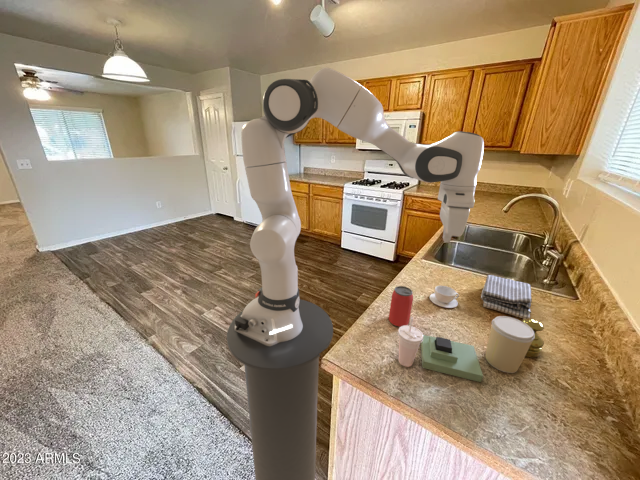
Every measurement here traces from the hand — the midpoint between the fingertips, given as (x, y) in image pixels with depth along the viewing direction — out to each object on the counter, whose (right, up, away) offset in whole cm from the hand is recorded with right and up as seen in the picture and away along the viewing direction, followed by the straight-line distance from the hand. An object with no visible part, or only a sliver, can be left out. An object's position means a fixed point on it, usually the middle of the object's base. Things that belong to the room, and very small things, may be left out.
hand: (446, 240), depth 79 cm
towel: (+33, -24, +22) cm, 46 cm away
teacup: (+9, -23, +22) cm, 33 cm away
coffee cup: (+13, -34, -5) cm, 36 cm away
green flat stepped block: (-2, -33, -5) cm, 33 cm away
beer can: (-11, -27, +10) cm, 31 cm away
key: (-4, -29, -6) cm, 30 cm away
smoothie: (-14, -33, -6) cm, 37 cm away
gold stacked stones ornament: (+23, -32, 0) cm, 39 cm away
